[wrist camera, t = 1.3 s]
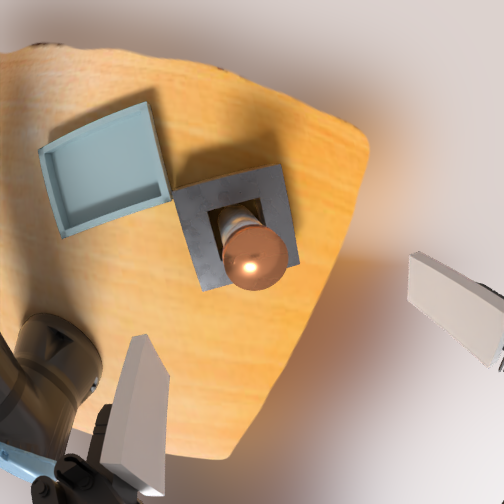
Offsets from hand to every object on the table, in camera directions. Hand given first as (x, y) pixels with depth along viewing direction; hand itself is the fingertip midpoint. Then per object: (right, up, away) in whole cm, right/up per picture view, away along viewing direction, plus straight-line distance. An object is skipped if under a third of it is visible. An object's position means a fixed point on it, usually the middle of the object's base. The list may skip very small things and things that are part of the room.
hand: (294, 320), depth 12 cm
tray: (-18, +12, +15) cm, 27 cm away
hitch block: (-4, +7, +19) cm, 21 cm away
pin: (-4, +7, +19) cm, 21 cm away
